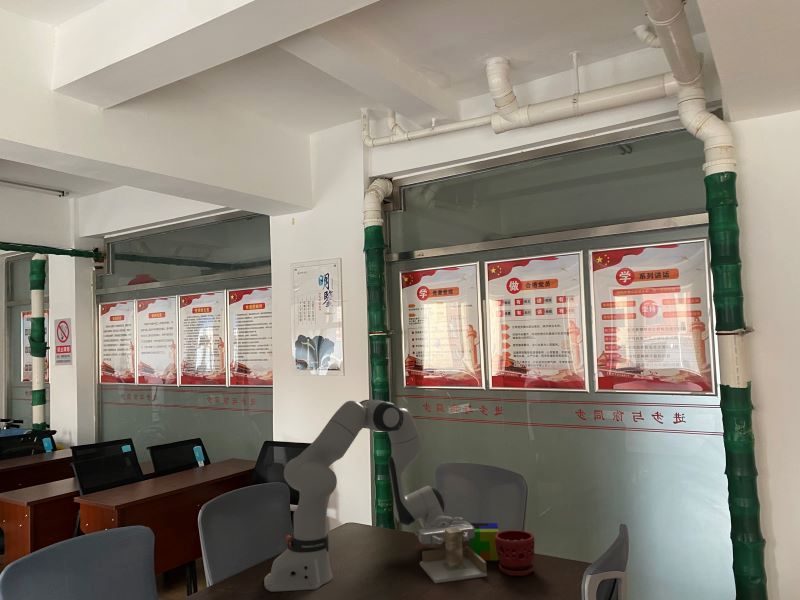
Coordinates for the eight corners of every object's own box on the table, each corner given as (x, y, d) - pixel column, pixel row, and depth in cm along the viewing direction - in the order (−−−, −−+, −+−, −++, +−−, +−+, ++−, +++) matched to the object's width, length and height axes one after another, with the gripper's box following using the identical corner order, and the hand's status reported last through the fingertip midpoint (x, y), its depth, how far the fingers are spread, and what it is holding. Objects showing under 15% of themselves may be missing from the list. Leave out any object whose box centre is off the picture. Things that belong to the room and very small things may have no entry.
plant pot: (541, 568, 209) (539, 532, 210) (526, 581, 198) (525, 543, 199) (505, 561, 216) (504, 526, 217) (489, 573, 205) (488, 537, 206)
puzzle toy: (498, 550, 227) (497, 523, 227) (499, 560, 217) (498, 531, 217) (470, 550, 228) (470, 523, 228) (471, 560, 218) (470, 531, 218)
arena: (435, 583, 198) (434, 569, 199) (419, 564, 215) (419, 551, 215) (486, 576, 203) (486, 562, 203) (467, 558, 219) (467, 545, 220)
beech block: (450, 569, 207) (449, 533, 208) (445, 564, 211) (444, 529, 212) (462, 567, 208) (461, 531, 209) (458, 563, 213) (457, 527, 213)
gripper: (413, 522, 221) (424, 534, 208) (466, 517, 227) (480, 528, 213) (413, 540, 221) (425, 553, 208) (466, 534, 226) (481, 546, 213)
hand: (453, 540), depth 210 cm, fingers open, 8 cm apart
